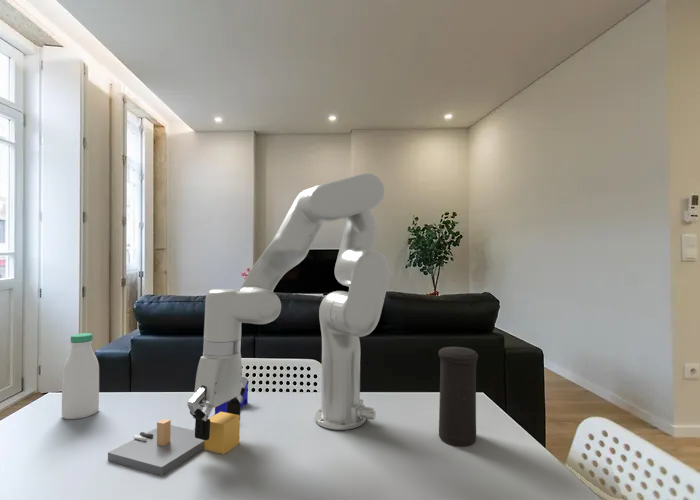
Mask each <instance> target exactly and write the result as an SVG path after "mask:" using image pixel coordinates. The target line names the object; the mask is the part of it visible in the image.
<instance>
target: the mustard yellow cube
mask: <svg viewBox="0 0 700 500" xmlns="http://www.w3.org/2000/svg"><path fill="white" fill-rule="evenodd" d="M208 419H210V437H209V439H208V440H205V443H204V448H203V449H204V450H205V451H209V452H213V453H217V454H222V455H225V454H227V453H228V452H229V451H230V450H232V449H234V448H235V447H236V446H237V445H239V444H240V431H241V430H240V423H241V422H240V421H241V414H240V415H236V414H231V413H226V412H219V413H217V414H216V415H215V414H214V415H212V416H211V417H210V416H209V417H208Z"/></svg>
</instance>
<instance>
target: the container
mask: <svg viewBox="0 0 700 500" xmlns="http://www.w3.org/2000/svg"><path fill="white" fill-rule="evenodd" d="M438 356H439V358H440V362H439V363H440V364H439V365H440V368H439V369H440V373H439V375H440V376H439V377H440V378H439V406H438V407H439V410H438V411H439V415H438V417H439V418H438V437H439V439H440V440H441V441H442V442H444V443H446V444H449V445H451V446H457V447H467V446H472V445H474V444H475V442H477V361H478V359H479V354H478V353H477V351H476V350H474V349H472V348H469V347H462V346H445V347H442V348H440V349H439V350H438Z"/></svg>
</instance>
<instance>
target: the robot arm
mask: <svg viewBox="0 0 700 500" xmlns="http://www.w3.org/2000/svg"><path fill="white" fill-rule="evenodd" d="M384 196H385V185H384V183H383V181H382V180H381V178H379V177H378V176H377V175H375V174H373V173H368V172H365V173H361V174H356V175H354V176H350V177H346V178H342V179H340V180H335V181H331V182H327V183H322V184H319V185H314V186H312V187H309V188H307V189H303V190H302V191H301V192H300V193H299V194H298V195H297V196H296V197H295V199H294V200H293V202H292V205H291V206H290V208H289V209H288V212H287V213H286V216H285V217H284V219H283V221H282V223H281V224H280V226H279V228H278V230H277V232H276V234H274V237H273V239H272V240H271V242H270V243H269V245H267V247H266V248H265V249H264V251H263V253H261V254H260V256H259V258H258V259H257V261H256V262H255V263H254V264H253V266H252V267H251V269H250V270H249V272H248V274H247V275H246V277H245V279H244V281H243V283H242V284H241V286H240V288H239V290H238V289H235V288H213V289H211V290H208V291H207V292H206V296H205V301H204V302H205V304H204V306H205V307H204V325H203V326H204V327H203V345H202V347H203V350H202V356H200V359H199V362H198V365H197V369H196V374H195V376H196V377H195V384H194V394H193V396H192V397H191V398H190V399H189V400H188V401H187V407H188V410H189V414H190V415H191V416H192V418H193V419H195V422H194V423H195V424H194V430H195V438H198V439H202V440H208V439H209V437H210V419H208V418H210V415H211V413H212V411H213V409H215V407H217V406H219V405H221V404H223V403H225V402H227V401H228V402H227V413H231V414H236V415H240V416H241V410H242V408H241V402H242V400H243V398H242V396H243V394H244V392H245V386H246V383H247V381H248V378H246V377H244V376H243V364H242V363H243V362H242V354H241V347H242V346H241V343H242V341H241V340H242V323H243V324H253V325H267V324H269V323H271V322H274V321H275V320H276V319H277V318H278V317H279V315H280V314H281V312H282V311H281V310H282V303H281V300H280V298H279V296H278V295H277V294H276V293H275V292H274V290H275V288H276V286H277V285H278V283H279V282H280V280H281V279H282V278H283V276H284V275H286V273H288V272H289V271H290V270H292V269H293V268H294V267H296V266H297V265H299V264H300V263H301V262H302V261H304V259H305V258H306V257H307V256H308V253H309V251H310V249H311V247H312V246H313V244H314V241H315V240H316V238H317V236H318V234H319V232H320V230H321V228H322V226H323V225H324V223H330V222H334V221H338V220H341V219H342V222H343V233H342V239H341V242H340V246H339V250H338V253H337V258H336V262H335V266H334V276H335V277H334V278H335V279H336V280H337V282H338V283H339V284H341V285H342V286H346V287H348V291H344V290H336V291H332V292H329V293H328V294H327V295H325V296H324V298H323V299H322V301H321V303H320V305H319V308H318V310H319V311H318V317H319V325H320V332H321V399H320V400H321V402H320V403H321V407H320V409H318V410H317V411H316V412H315V414H314V421H315V423H316V424H317V425H319V426H321V427H322V428H325V429H329V430H335V431H336V430H337V431H343V430H345V431H346V430H351V429H355V428H358V427H360V426H362V425H363V424H364V423H365V422H366V421H367V420H366V419H368V420H375V419H376V416H377V412H376V410H375V408H374V407H370V406H366V405H365V404H364V399H360V398H361V394H360V393H361V392H360V391H361V342H360V341H361V340H360V337H361V338H362V337H366V336H368V335H370V334H371V333H372V332H373V331H374V330H375V329H376V327H377V326H378V323H379V322H380V319H381V315H382V310H383V306H384V304H385V303H384V302H385V298H386V294H387V289H388V284H389V281H390V266H389V263H388V260H387V258H386V256H385V255H384V254H383V253H381V252H380V251H378V250H375V246H376V245H375V244H376V239H377V233H378V228H377V222H376V219H375V217H374V215H373V212H372V210H373V209H375V208H377V207H378V206H379V205H380V204H381V202H382V201H383V200H384V198H385V197H384ZM229 400H230V401H229ZM204 408H205V410H204V411H203V409H204Z"/></svg>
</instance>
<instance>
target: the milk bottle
mask: <svg viewBox="0 0 700 500" xmlns="http://www.w3.org/2000/svg"><path fill="white" fill-rule="evenodd" d="M93 336H94V335H93V333H91V332H90V333H89V332H83V333H75V334H72V335H71V336H70V345H71V349H70V352H69V355H68V356H67V358H66V360H65V362H64V365H63V369H62V379H61V381H62V384H61V416H62V418H63V419H65V420H77V419H83V418H87V417H90V416H92V415H95V414H96V413H97V412H98V411H99V409H100V408H99V407H100V405H99V404H100V363H99V360H98V358H97V356H96V354H95V353H94V350H93V347H92V343H93V340H94V339H93V338H94V337H93Z"/></svg>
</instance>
